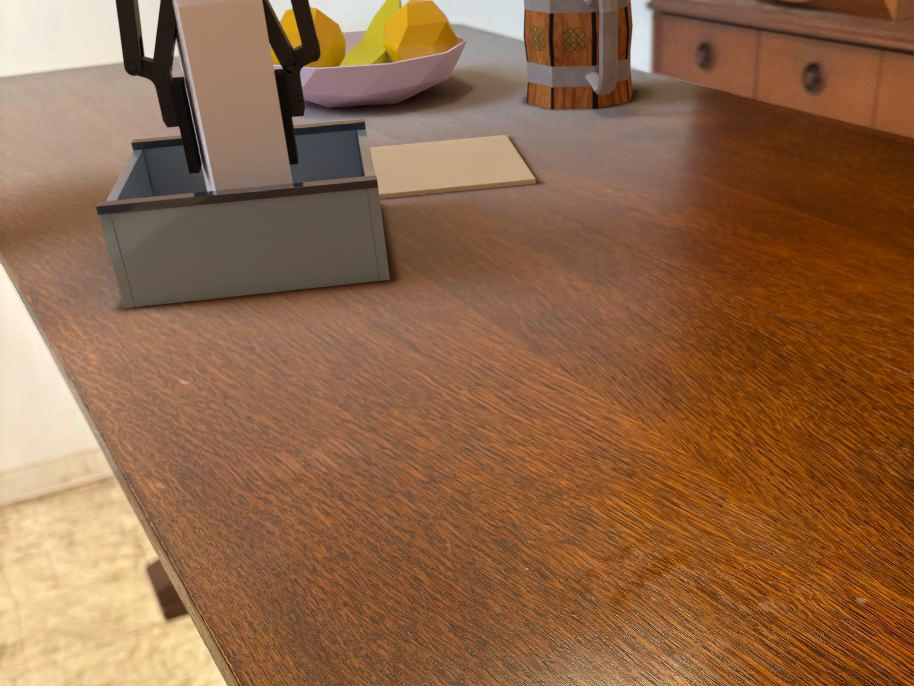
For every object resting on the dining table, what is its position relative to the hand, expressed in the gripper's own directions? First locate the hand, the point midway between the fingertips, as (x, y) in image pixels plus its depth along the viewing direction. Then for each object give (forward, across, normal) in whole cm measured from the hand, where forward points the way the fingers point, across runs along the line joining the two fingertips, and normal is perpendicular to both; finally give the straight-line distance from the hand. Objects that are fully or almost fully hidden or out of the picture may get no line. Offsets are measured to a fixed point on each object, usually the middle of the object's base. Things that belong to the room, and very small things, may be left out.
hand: (244, 164), depth 85 cm
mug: (+7, +37, +44) cm, 58 cm away
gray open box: (+7, 0, 0) cm, 7 cm away
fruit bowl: (+7, +12, +60) cm, 62 cm away
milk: (+7, 0, 0) cm, 7 cm away
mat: (+7, +15, +21) cm, 27 cm away
